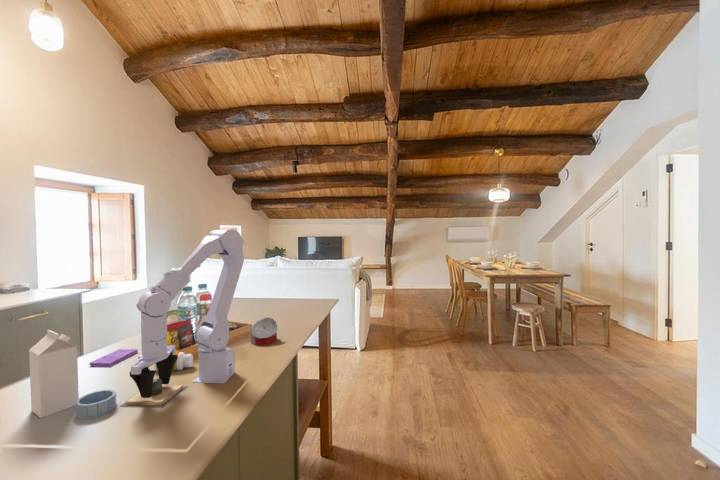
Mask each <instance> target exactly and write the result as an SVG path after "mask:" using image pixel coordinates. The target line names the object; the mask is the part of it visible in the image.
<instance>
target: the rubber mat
mask: <svg viewBox="0 0 720 480" xmlns="http://www.w3.org/2000/svg"><path fill="white" fill-rule="evenodd" d="M188 388H189V386H187V385H186V386H184V385H183V388H182V389H181V390H180V391H179V392H177V393H176V394H175V395H174V396H172V397H171V398H170V399H169V400H168V401H166V402H165V403H164V404H163V405H126V402H124V403H122V404H121V405H120V406H119V408H151V409H152V408H153V409H154V408H156V409H164V407H166V406H167V405H168V404H169V403H170V402H172V401H173V400H174V399H176V398H177V397H178V396H179V395H180V394H181V393H183V392H184V391H185V390H186V389H188Z"/></svg>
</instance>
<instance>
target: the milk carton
mask: <svg viewBox="0 0 720 480" xmlns="http://www.w3.org/2000/svg"><path fill="white" fill-rule="evenodd" d="M46 332H47V333H46V334H45V335H44V337H42V338H41V339H39V340H38V342H37V343H35V344H34V345H33V346H31V348H30V349H29V350H28V355H29V358H28V359H29V378H30V379H29V380H30V385H29V386H30V406H31V408H30V409H31V410H30V411H31V412H33V414H35V415H36V416H37V417H38V418H40V419H43V418H44V417H47V416H49V415H52V414H56V413H58V412H60V411H64V410H66V409H70V408H73V407H74V406H75V402H76V401H77V399H79V398H80V397H79V395H80V394H79V372H78V371H79V370H78V369H79V367H78V365H79V363H78V347H77V346H76V345H74V344H73V343H71V342H69V341H70V340H71V337H70V336H68V335H66V334H63V333H61V334H60V335H59V333H57V332H55V331H53V330H50V329H47V330H46Z"/></svg>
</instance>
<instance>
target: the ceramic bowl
mask: <svg viewBox="0 0 720 480" xmlns="http://www.w3.org/2000/svg"><path fill="white" fill-rule="evenodd" d="M116 406H117V391H116V390H113V389H101V390H96V391H93V392H89V393H87V394H85V395H82V396H81V397H79V399H77V401H76V402H75V417H77V418H78V419H91V418H96V417H99V416H103V415H105V414H107V413H110V412H111V411H112V410H114V409H115V408H116Z"/></svg>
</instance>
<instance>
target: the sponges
mask: <svg viewBox="0 0 720 480" xmlns="http://www.w3.org/2000/svg"><path fill="white" fill-rule="evenodd" d="M138 349H139V348H131V349H130V348H118V349H116V350H114V351H113V352H110V353H107V354H106V355H103V356H101V357H99V358H97V359H95V360H93V361H89V366H90V367H102V368H103V367H112V366H114V365H117V364H118V363H120V362H122V361H124V360H126V359H128V358H130V357H132V356H133V355H136V354H137V353H139V351H138Z"/></svg>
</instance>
